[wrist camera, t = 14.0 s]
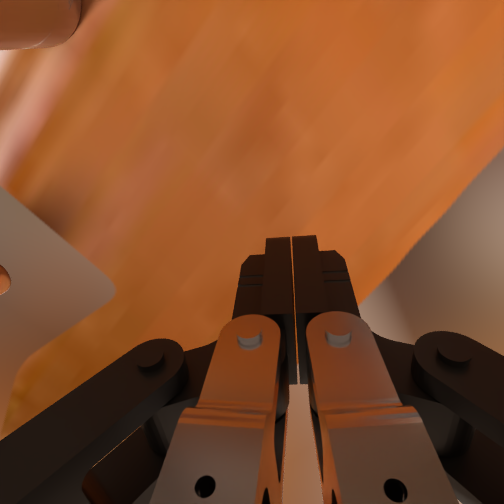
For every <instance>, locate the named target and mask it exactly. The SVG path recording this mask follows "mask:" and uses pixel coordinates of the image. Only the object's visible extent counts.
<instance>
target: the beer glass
mask: <svg viewBox="0 0 504 504" xmlns="http://www.w3.org/2000/svg"><path fill="white" fill-rule="evenodd" d="M10 285H11V279H10V276H9V274H8V272H7V271H6V270H5V268H4V267H3V266H1V265H0V295H1V294H3V293H4V292H6V291H7V290H8V289H9V287H10Z"/></svg>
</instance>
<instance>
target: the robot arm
mask: <svg viewBox="0 0 504 504" xmlns="http://www.w3.org/2000/svg"><path fill="white" fill-rule="evenodd" d="M80 13H81V0H0V50H12V49H32V48H47V47H54V46H57V45H59V44H62V43H63V42H65V41H66V40H67V39H68V38H70V36H71V35H72V34H73V32H74V31H75V29H76V27H77V24H78V22H79V19H80ZM292 246H293V268H294V289H295V311H296V327H297V343H298V359H299V374H300V384H308V389H309V390H308V391H309V406H310V418H311V425H312V431H313V438H314V443H315V450H316V457H317V463H318V469H319V476H320V482H321V489H322V496H323V504H459V502H458V500H459V501H460V502H461V503H462V504H504V356H502V355H501V354H499V353H497V352H495V351H493V350H492V349H490V348H488V347H486V346H484V345H482V344H481V343H479V342H477V341H475V340H473V339H471V338H469V337H467V336H464V335H461V334H458V333H454V332H447V331H437V332H436V331H435V332H430V333H427V334H425V335H423V336H421V337H420V338H419V339H418V340H417V341H416V343H415V345H411V344H406V343H402V342H396V341H393V340H389V339H386V338H383V337H381V336H379V335H377V334H375V333H374V332H372V331H371V329H370V327H369V326H368V324H367V323H366V322H365V321H364V320H362V319H361V317H360V313H359V309H358V306H357V302H356V299H355V295H354V291H353V288H352V284H351V282H350V277H349V273H348V269H347V266H346V262H345V259H344V258H343V257H342V256H341V255H340V254H338V253H337V252H336V251H335V250H331V251H319V250H318V244H317V238H316V235H310V236H294V237H292ZM289 384H297V361H296V338H295V314H294V291H293V275H292V259H291V244H290V237H279V238H266V247H265V254H262V255H250V256H249V257H248V258H247V259H246V260H245V262H244V263H243V264H242V265H241V271H240V278H239V282H238V288H237V293H236V299H235V305H234V310H233V316H232V320H231V321H230V322H228V323H227V324H226V325H225V326H224V327H223V328H222V330H221V332H220V334H219V337H218V340H216V341H214V342H213V343H210V344H208V345H206V346H203V347H199V348H196V349H192V350H188V351H185V352H183V349H182V347H181V346H180V345H179V344H178V343H177V342H175V341H173V340H170V339H153V340H149V341H146V342H144V343H142V344H140V345H138V346H136V347H135V348H133V349H132V350H130V351H129V352H127V353H126V354H124V355H123V356H122V357H120V358H119V359H117V360H116V361H114V362H113V363H112V364H110V365H109V366H107V367H106V368H104V369H103V370H101V371H100V372H99V373H97V374H96V375H94V376H93V377H91V378H90V379H88V380H87V381H86V382H84V383H83V384H81V385H80V386H78V387H77V388H76V389H74V390H73V391H71V392H70V393H68V394H67V395H65V396H64V397H63V398H61V399H60V400H58V401H57V402H55V403H54V404H53V405H51V406H50V407H48V408H47V409H45V410H44V411H42V412H41V413H40V414H38V415H37V416H35V417H34V418H32V419H31V420H29V421H28V422H27V423H25V424H24V425H22V426H21V427H19V428H18V429H17V430H15V431H14V432H12V433H11V434H9V435H8V436H6V437H5V438H4V439H2V440H1V441H0V504H282V499H283V497H282V496H283V479H284V464H285V450H286V436H287V421H288V405H289ZM138 427H139V428H138ZM137 428H138V429H137ZM136 429H137V430H136ZM135 430H136V431H135ZM134 431H135V432H134ZM131 433H132V434H131ZM130 434H131V435H130ZM129 435H130V436H129ZM128 436H129V437H128ZM127 437H128V438H127ZM124 439H125V440H124ZM123 440H124V441H123ZM122 441H123V442H122ZM121 442H122V443H121ZM120 443H121V444H120ZM118 444H119V445H118ZM117 445H118V446H117ZM116 446H117V447H116ZM115 447H116V448H115ZM114 448H115V449H114ZM113 449H114V450H113ZM111 450H112V451H111ZM110 451H111V452H110ZM109 452H110V453H109ZM108 453H109V454H108ZM107 454H108V455H107ZM106 455H107V456H106ZM104 456H105V457H104ZM103 457H104V458H103ZM102 458H103V459H102ZM101 459H102V460H101ZM100 460H101V461H100ZM98 461H100V462H98ZM97 462H98V463H97ZM96 463H97V464H96ZM95 464H96V465H95ZM94 465H95V466H94ZM93 466H94V467H93ZM92 467H93V468H92ZM457 499H458V500H457Z"/></svg>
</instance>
